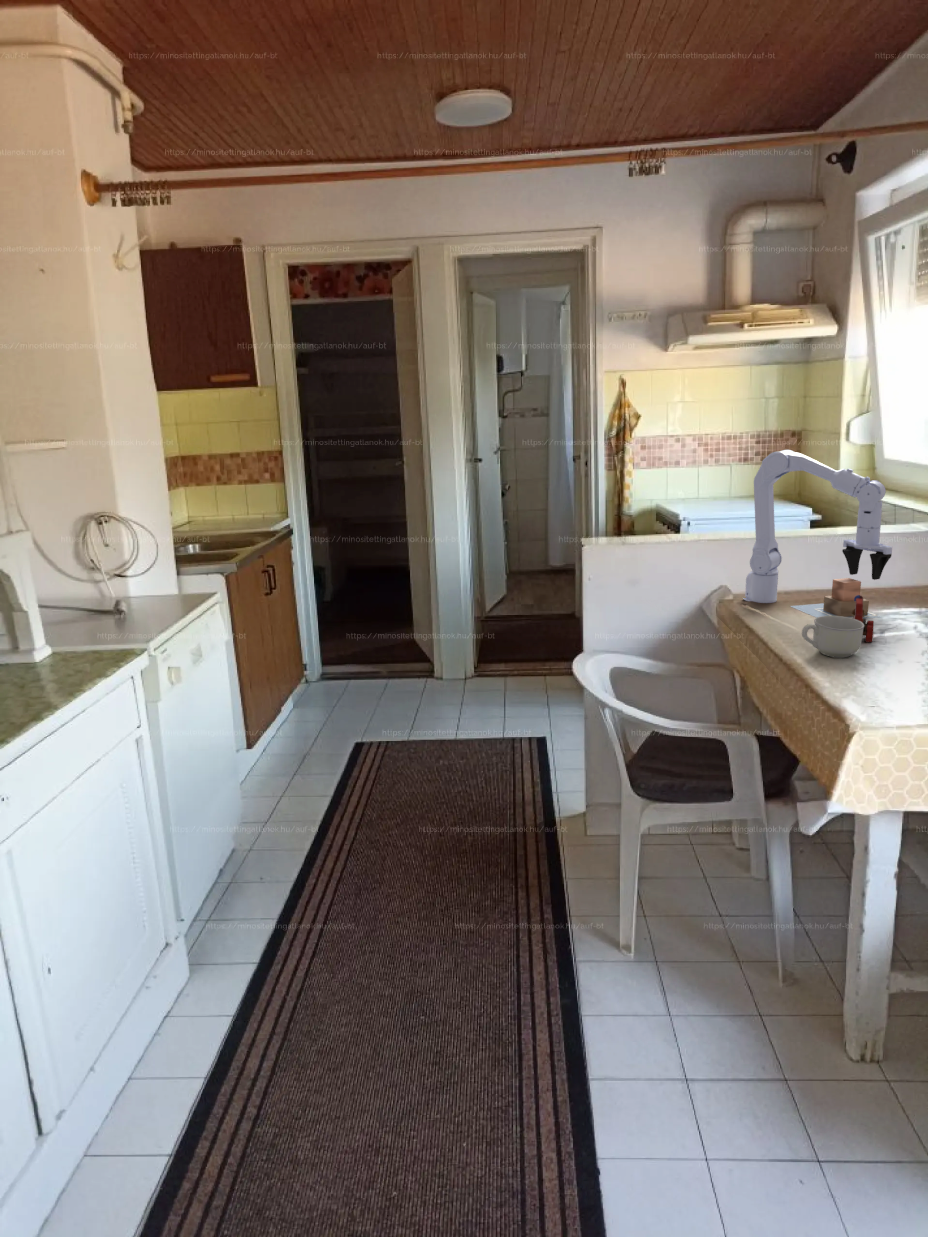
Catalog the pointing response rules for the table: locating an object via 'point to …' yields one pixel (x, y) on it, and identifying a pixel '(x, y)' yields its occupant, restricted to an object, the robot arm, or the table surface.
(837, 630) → the teacup
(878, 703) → the table surface
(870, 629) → the toy fire truck
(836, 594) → the terracotta cube
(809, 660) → the table surface
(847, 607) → the walnut slab
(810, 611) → the board
